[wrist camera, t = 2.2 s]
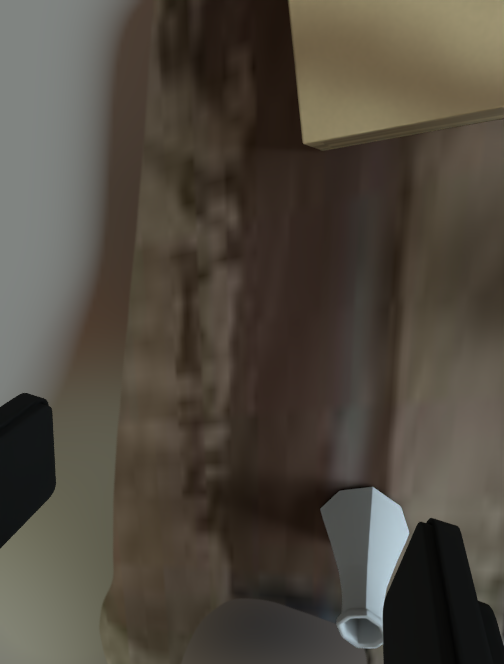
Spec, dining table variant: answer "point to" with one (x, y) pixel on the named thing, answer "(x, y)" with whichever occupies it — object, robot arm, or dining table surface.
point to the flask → (364, 558)
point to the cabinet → (395, 67)
